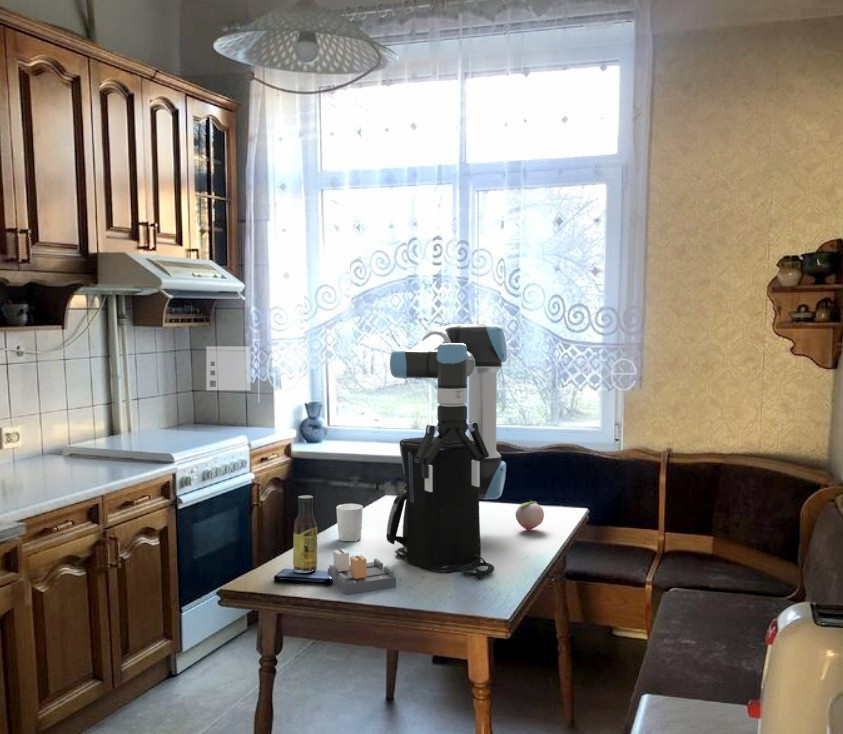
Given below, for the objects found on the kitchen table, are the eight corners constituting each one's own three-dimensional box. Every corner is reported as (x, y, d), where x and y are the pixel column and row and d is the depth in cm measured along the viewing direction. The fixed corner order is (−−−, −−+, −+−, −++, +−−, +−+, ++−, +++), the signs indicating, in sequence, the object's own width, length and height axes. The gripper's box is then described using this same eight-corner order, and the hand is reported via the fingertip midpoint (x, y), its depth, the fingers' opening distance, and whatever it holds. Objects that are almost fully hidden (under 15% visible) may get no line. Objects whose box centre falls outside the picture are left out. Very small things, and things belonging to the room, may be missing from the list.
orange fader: (350, 574, 198) (350, 556, 198) (361, 573, 199) (361, 554, 199) (355, 578, 195) (355, 559, 194) (366, 577, 196) (366, 558, 196)
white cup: (332, 541, 239) (331, 508, 238) (344, 534, 246) (344, 502, 246) (355, 544, 236) (355, 510, 235) (367, 537, 243) (367, 504, 243)
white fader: (333, 567, 203) (333, 549, 203) (344, 566, 205) (344, 548, 204) (338, 571, 200) (337, 553, 200) (349, 570, 202) (349, 551, 201)
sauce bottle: (306, 576, 206) (305, 500, 205) (288, 572, 209) (287, 497, 208) (322, 569, 212) (321, 495, 211) (304, 566, 215) (303, 493, 214)
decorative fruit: (536, 536, 243) (536, 503, 243) (512, 532, 247) (512, 500, 247) (548, 529, 251) (548, 497, 251) (524, 525, 255) (524, 495, 255)
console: (327, 578, 205) (327, 563, 205) (375, 571, 210) (374, 557, 210) (346, 594, 192) (346, 579, 192) (395, 587, 198) (395, 572, 197)
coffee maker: (424, 542, 237) (424, 430, 235) (521, 560, 219) (521, 438, 217) (377, 561, 219) (376, 439, 217) (478, 583, 200) (478, 450, 198)
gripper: (414, 408, 192) (415, 496, 193) (502, 403, 203) (502, 486, 204) (401, 405, 198) (401, 490, 199) (486, 401, 210) (486, 481, 211)
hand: (452, 488), depth 202 cm, fingers open, 13 cm apart
